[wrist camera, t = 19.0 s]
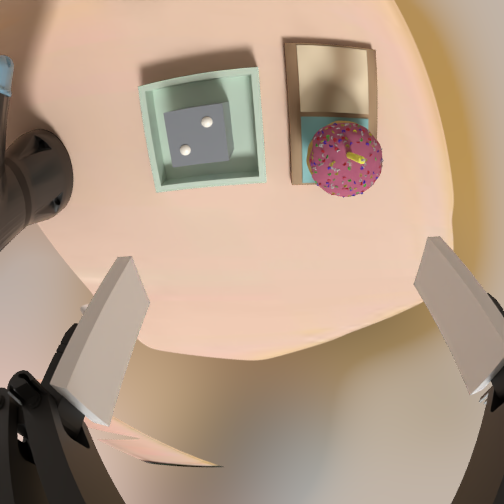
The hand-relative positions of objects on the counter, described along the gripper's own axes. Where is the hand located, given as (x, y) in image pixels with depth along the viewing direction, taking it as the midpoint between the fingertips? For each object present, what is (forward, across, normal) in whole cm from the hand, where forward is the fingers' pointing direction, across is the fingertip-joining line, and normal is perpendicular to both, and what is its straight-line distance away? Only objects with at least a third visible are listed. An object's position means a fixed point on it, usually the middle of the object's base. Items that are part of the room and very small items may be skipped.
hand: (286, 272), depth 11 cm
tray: (+25, -7, +3) cm, 26 cm away
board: (+25, +9, +4) cm, 26 cm away
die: (+24, -7, +3) cm, 25 cm away
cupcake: (+24, +8, 0) cm, 25 cm away
